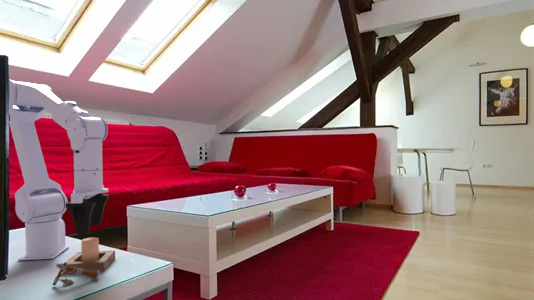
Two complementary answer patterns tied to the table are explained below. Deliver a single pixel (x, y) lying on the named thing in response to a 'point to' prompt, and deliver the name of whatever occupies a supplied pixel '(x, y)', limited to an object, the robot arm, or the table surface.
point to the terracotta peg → (90, 249)
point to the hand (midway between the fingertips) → (89, 229)
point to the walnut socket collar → (91, 262)
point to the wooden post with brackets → (73, 270)
